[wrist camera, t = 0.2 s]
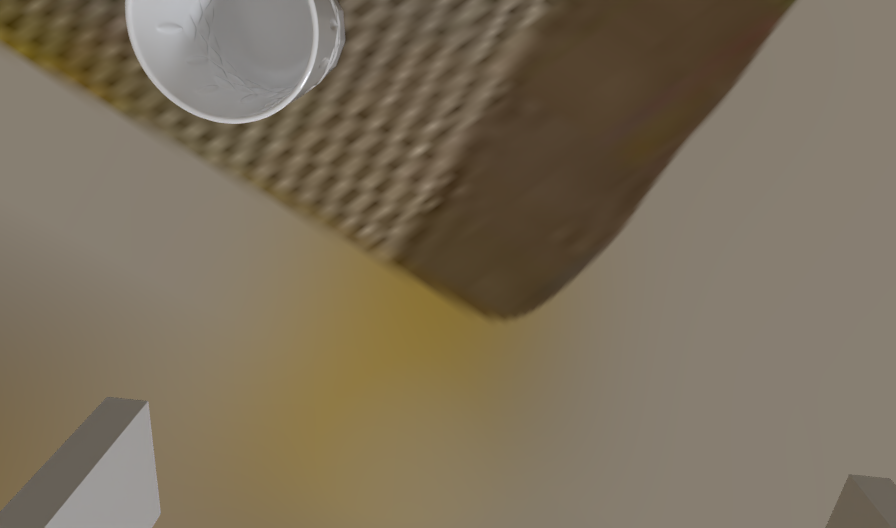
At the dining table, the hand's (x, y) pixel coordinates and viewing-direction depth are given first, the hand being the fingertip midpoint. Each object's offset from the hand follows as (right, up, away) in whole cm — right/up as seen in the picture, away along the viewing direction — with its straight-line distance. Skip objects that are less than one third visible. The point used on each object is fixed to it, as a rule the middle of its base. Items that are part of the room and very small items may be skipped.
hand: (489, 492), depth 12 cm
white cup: (-10, +18, +23) cm, 31 cm away
